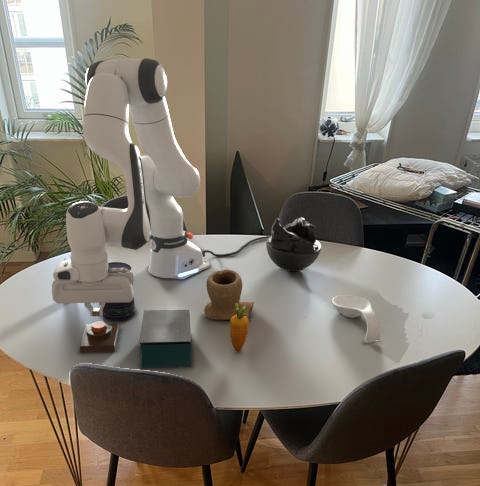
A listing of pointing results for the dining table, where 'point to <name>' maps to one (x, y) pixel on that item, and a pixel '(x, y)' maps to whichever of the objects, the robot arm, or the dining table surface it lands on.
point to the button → (98, 327)
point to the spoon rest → (359, 313)
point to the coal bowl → (293, 245)
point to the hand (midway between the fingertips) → (96, 315)
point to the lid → (165, 327)
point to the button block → (99, 339)
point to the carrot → (238, 328)
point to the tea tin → (166, 355)
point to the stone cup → (225, 295)
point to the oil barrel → (122, 309)
